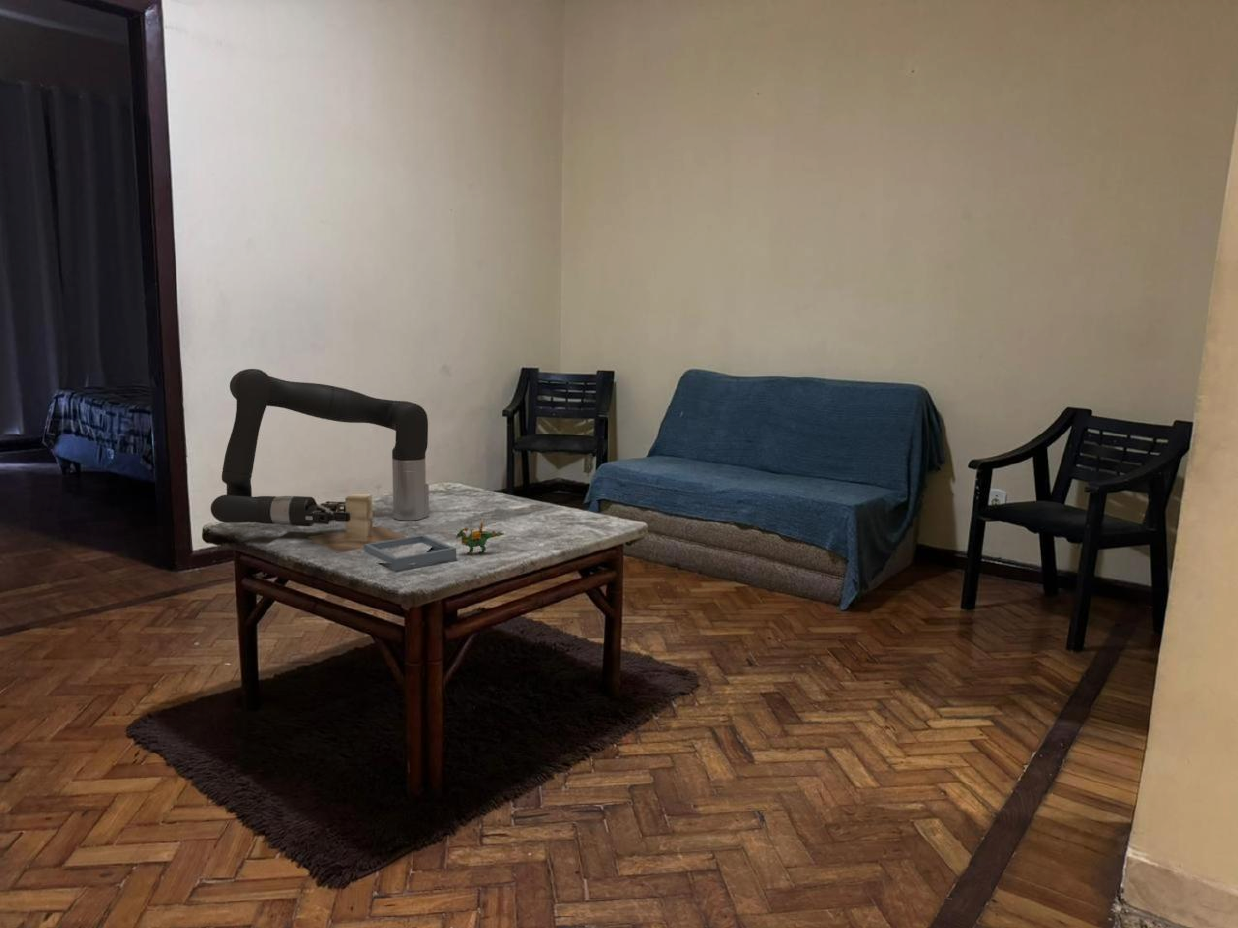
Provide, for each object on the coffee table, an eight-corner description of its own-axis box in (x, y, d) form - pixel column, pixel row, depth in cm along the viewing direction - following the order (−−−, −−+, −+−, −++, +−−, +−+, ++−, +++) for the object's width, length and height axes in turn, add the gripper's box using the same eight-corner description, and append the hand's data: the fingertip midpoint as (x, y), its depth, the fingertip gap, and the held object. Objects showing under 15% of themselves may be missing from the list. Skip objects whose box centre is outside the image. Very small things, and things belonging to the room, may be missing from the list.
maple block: (353, 535, 224) (352, 493, 222) (372, 536, 224) (371, 494, 222) (346, 540, 219) (345, 497, 217) (365, 541, 219) (364, 498, 217)
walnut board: (380, 531, 235) (380, 525, 235) (412, 545, 222) (412, 539, 221) (307, 542, 222) (307, 536, 222) (336, 558, 209) (336, 552, 208)
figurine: (455, 553, 216) (455, 521, 215) (503, 550, 220) (503, 518, 218) (456, 556, 213) (456, 524, 212) (505, 553, 217) (505, 521, 215)
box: (423, 546, 222) (423, 534, 221) (456, 560, 210) (456, 548, 209) (364, 556, 211) (363, 544, 211) (395, 572, 199) (395, 559, 199)
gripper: (280, 502, 214) (345, 504, 213) (305, 490, 228) (365, 493, 227) (281, 532, 215) (346, 534, 214) (306, 518, 229) (366, 521, 228)
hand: (356, 513), depth 221 cm, fingers open, 8 cm apart
